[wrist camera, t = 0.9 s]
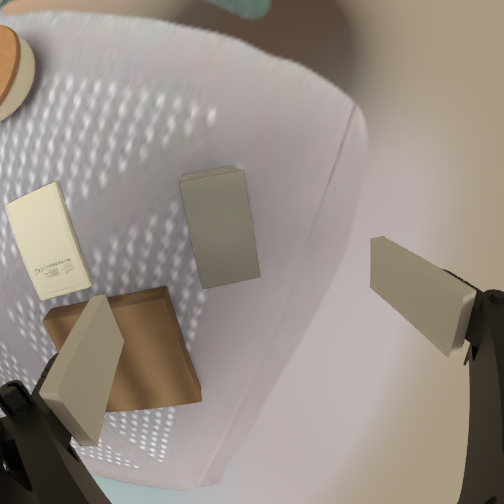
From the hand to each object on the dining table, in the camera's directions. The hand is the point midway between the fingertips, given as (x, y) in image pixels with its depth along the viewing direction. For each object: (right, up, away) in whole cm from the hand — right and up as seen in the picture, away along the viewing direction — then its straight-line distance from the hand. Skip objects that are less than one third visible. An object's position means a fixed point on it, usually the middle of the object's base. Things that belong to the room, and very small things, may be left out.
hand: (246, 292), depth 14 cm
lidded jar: (-27, +21, +8) cm, 35 cm away
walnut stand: (-16, -11, +21) cm, 28 cm away
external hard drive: (-23, +3, +15) cm, 28 cm away
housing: (-4, +6, +17) cm, 19 cm away
